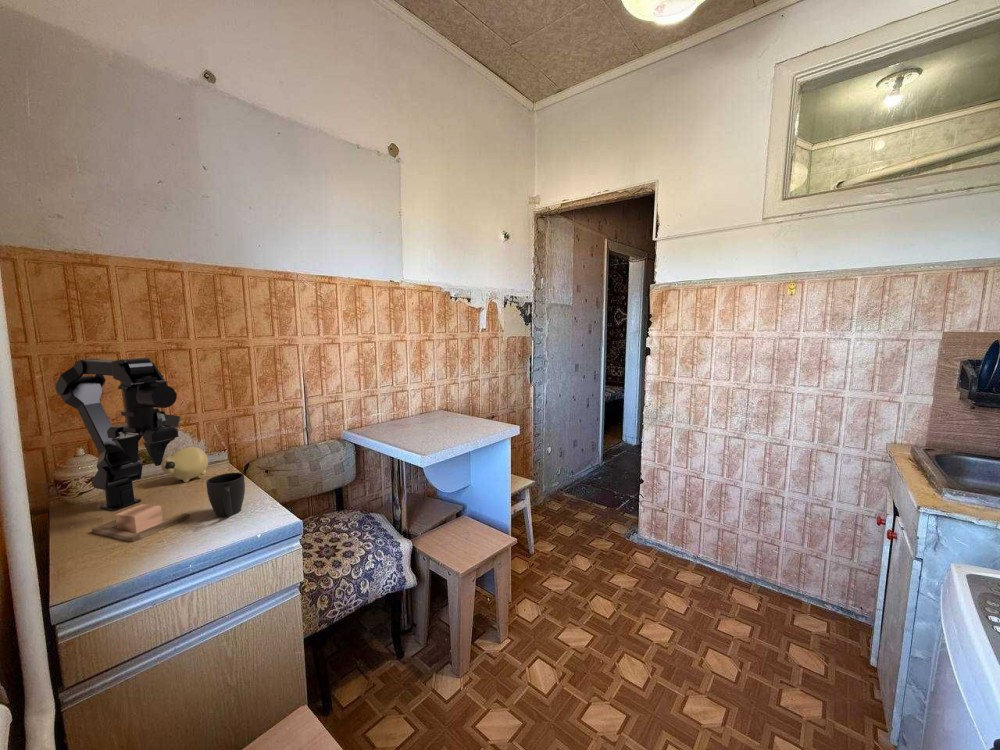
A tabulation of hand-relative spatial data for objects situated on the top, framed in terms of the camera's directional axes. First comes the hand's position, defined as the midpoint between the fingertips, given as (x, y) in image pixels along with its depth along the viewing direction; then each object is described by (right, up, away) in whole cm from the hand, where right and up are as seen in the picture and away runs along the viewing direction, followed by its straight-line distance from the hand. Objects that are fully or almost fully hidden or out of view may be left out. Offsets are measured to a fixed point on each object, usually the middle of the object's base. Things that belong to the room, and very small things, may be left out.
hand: (146, 463), depth 107 cm
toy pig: (-8, -11, +24) cm, 28 cm away
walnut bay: (+5, -14, -6) cm, 16 cm away
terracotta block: (+5, -14, -8) cm, 17 cm away
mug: (+23, -13, -2) cm, 27 cm away
